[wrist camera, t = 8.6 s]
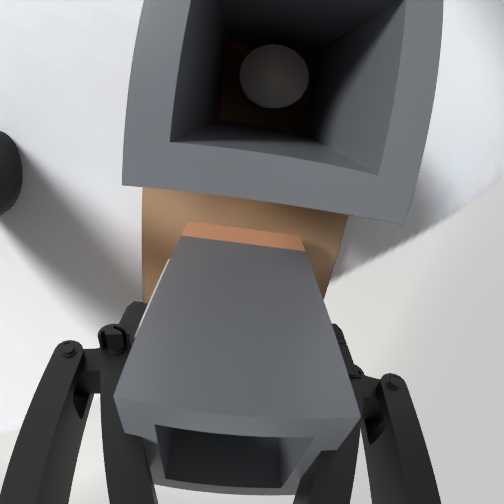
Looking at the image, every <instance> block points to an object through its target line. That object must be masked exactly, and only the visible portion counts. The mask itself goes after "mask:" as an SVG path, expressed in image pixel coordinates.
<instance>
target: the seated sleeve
mask: <svg viewBox="0 0 504 504" xmlns="http://www.w3.org/2000/svg"><path fill="white" fill-rule="evenodd" d="M442 22H443V0H144V2H143V7H142V11H141V16H140V21H139V26H138V31H137V37H136V42H135V48H134V54H133V60H132V67H131V74H130V82H129V90H128V99H127V109H126V119H125V132H124V147H123V169H122V185H125V186H136V187H147V188H158V189H168V190H177V191H186V192H195V193H204V194H212V195H220V196H228V197H236V198H244V199H251V200H258V201H265V202H272V203H279V204H286V205H293V206H299V207H305V208H312V209H318V210H324V211H330V212H336V213H342V214H347V215H353V216H359V217H364V218H369V219H375V220H380V221H385V222H390V223H396V224H401V225H404V222H405V219H406V216H407V212H408V209H409V206H410V202H411V199H412V195H413V192H414V188H415V184H416V180H417V177H418V173H419V169H420V165H421V161H422V156H423V152H424V148H425V143H426V138H427V134H428V129H429V124H430V118H431V113H432V107H433V102H434V95H435V89H436V82H437V75H438V67H439V58H440V48H441V37H442ZM271 44H275V45H282V46H285V47H288V48H290V49H292V50H294V51H295V52H296V53H298V54H299V55H300V56H301V58H302V59H306V60H308V64H307V69H308V74H309V80H308V85H307V88H306V90H305V92H304V94H303V95H302V100H301V106H300V112H299V117H298V123H297V129H296V131H295V130H289V129H283V128H278V127H271V126H265V125H258V124H251V123H244V122H236V121H228V120H220V115H221V108H222V101H223V95H224V88H225V81H226V75H227V69H228V63H229V56H230V51H231V48H239V49H247V50H255V49H257V48H259V47H261V46H265V45H271Z"/></svg>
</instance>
